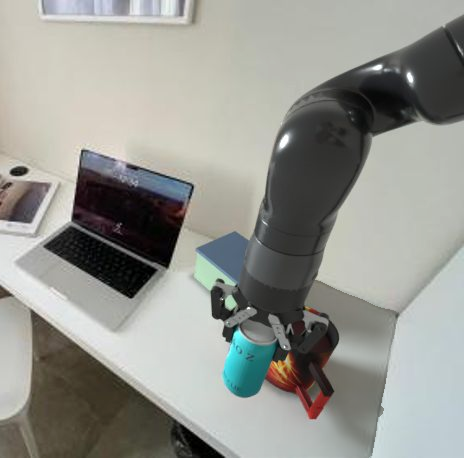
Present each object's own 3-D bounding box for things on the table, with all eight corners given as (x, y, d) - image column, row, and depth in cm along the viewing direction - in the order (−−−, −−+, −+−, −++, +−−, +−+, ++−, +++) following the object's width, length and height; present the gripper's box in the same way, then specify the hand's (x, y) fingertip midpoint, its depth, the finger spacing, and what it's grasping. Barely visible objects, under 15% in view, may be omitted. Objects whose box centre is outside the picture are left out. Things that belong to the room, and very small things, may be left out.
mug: (309, 425, 58) (335, 387, 51) (243, 357, 68) (257, 317, 61) (351, 398, 60) (382, 358, 53) (282, 337, 71) (299, 296, 64)
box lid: (195, 250, 82) (195, 247, 81) (234, 233, 85) (235, 230, 84) (244, 291, 71) (245, 288, 70) (287, 270, 74) (288, 267, 74)
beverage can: (236, 362, 62) (252, 306, 53) (266, 388, 58) (290, 331, 49) (213, 381, 60) (227, 325, 51) (243, 409, 56) (264, 354, 47)
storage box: (193, 276, 86) (197, 252, 81) (231, 259, 89) (237, 235, 84) (237, 316, 76) (244, 291, 71) (278, 295, 79) (287, 270, 74)
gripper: (356, 265, 41) (312, 350, 51) (225, 230, 49) (210, 310, 59) (350, 309, 37) (303, 393, 47) (207, 264, 44) (194, 344, 54)
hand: (251, 347), depth 53 cm, fingers closed on beverage can, 5 cm apart
